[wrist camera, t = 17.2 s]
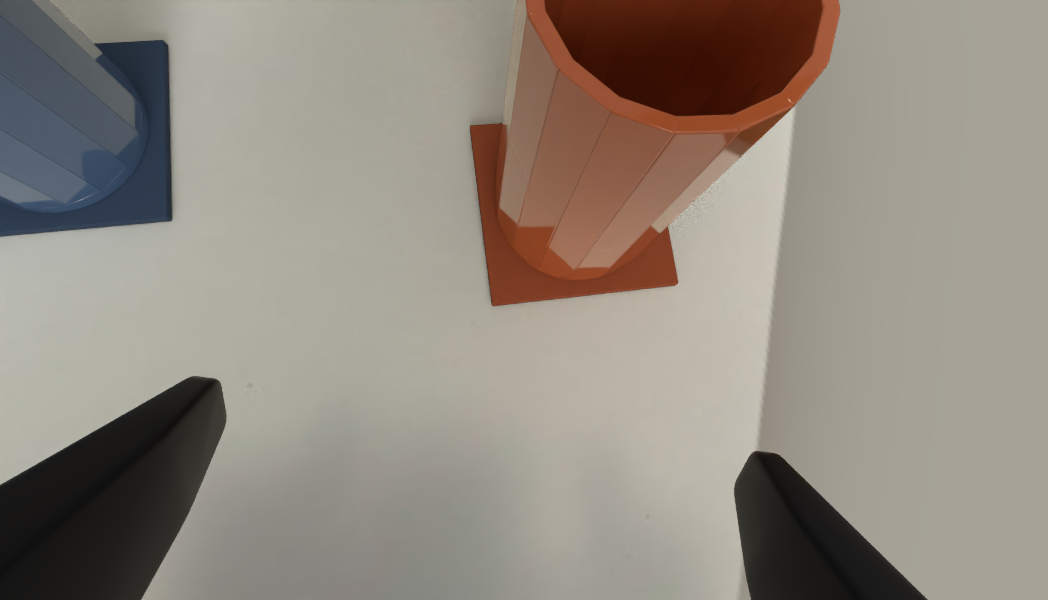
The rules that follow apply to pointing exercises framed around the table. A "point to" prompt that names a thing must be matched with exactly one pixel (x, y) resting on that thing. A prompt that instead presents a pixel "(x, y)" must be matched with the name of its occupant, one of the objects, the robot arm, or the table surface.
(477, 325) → the table surface
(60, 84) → the blue cup
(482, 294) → the table surface
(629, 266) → the rust mat
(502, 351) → the table surface
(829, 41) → the terracotta cup
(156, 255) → the table surface
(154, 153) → the blue mat
